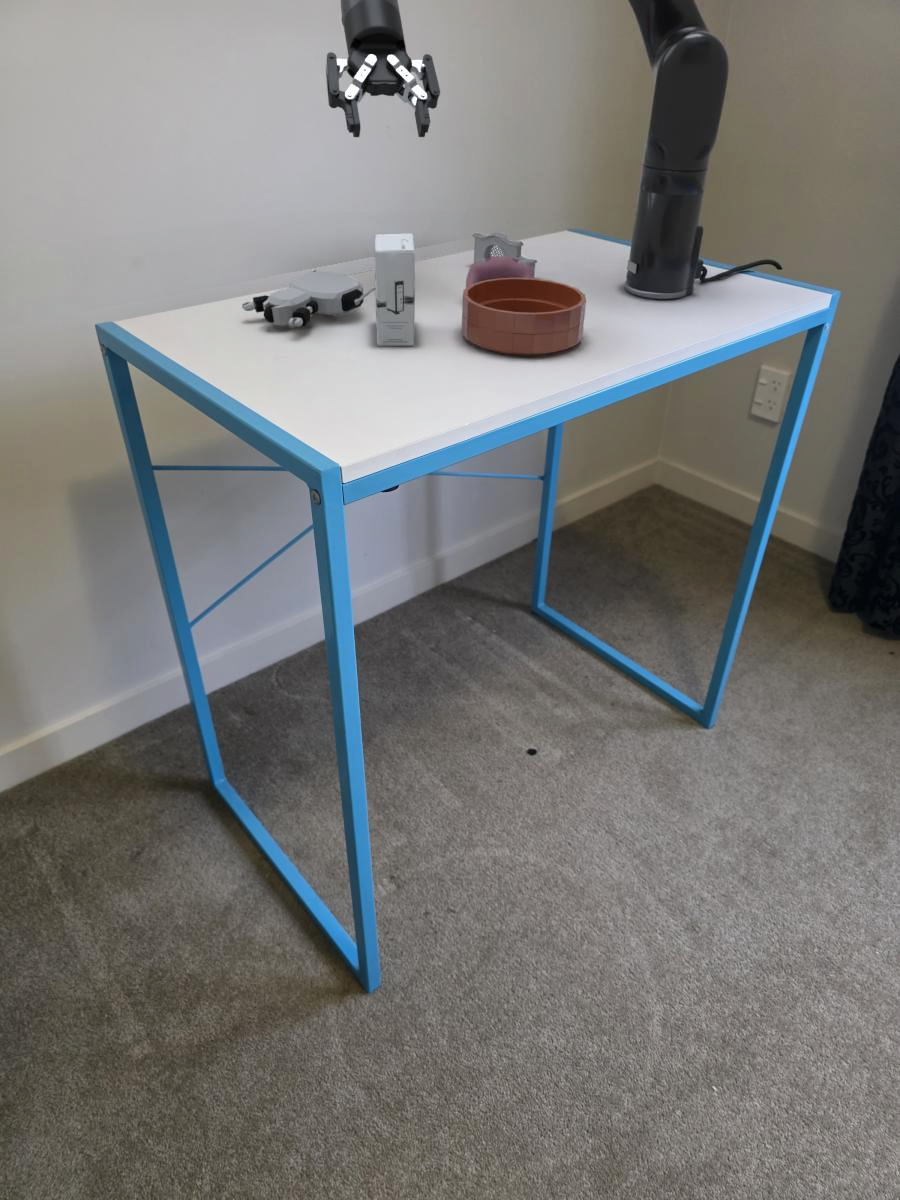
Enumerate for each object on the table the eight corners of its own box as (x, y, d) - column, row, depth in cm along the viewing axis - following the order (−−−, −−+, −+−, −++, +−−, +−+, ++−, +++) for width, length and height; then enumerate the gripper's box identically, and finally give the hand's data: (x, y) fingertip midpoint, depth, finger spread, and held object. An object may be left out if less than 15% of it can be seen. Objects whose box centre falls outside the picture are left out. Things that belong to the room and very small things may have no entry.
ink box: (376, 324, 116) (373, 232, 109) (413, 324, 116) (412, 232, 109) (376, 346, 109) (373, 249, 102) (415, 346, 109) (415, 249, 102)
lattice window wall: (536, 279, 135) (539, 239, 132) (529, 281, 134) (532, 241, 131) (477, 264, 141) (479, 226, 138) (470, 266, 140) (471, 228, 137)
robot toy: (300, 348, 110) (381, 313, 119) (294, 313, 107) (378, 280, 116) (239, 326, 116) (320, 295, 125) (233, 293, 113) (316, 263, 122)
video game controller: (532, 310, 127) (536, 261, 126) (532, 305, 122) (536, 253, 121) (465, 307, 128) (468, 258, 126) (463, 301, 123) (466, 250, 122)
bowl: (556, 315, 121) (559, 274, 117) (599, 353, 108) (605, 309, 105) (448, 322, 117) (449, 280, 114) (481, 362, 105) (483, 317, 102)
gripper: (318, -6, 107) (337, 112, 104) (430, -2, 110) (450, 112, 108) (315, 42, 114) (332, 153, 112) (420, 44, 117) (439, 152, 115)
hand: (390, 133), depth 110 cm, fingers open, 8 cm apart
